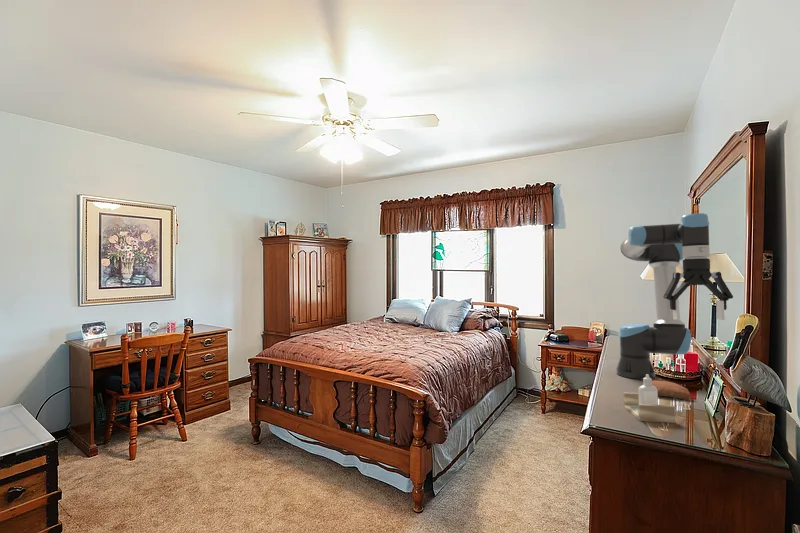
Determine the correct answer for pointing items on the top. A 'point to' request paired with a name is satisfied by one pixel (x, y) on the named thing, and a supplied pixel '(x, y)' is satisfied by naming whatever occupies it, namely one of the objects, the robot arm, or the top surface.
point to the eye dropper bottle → (648, 392)
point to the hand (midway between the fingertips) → (698, 319)
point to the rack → (648, 409)
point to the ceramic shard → (671, 389)
